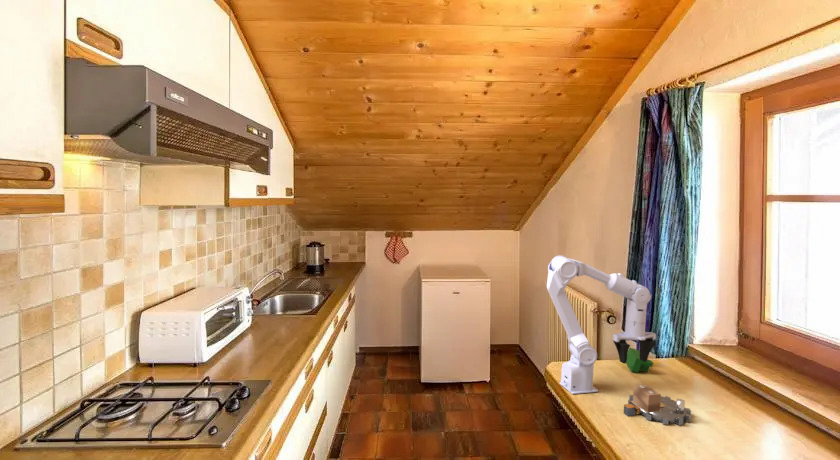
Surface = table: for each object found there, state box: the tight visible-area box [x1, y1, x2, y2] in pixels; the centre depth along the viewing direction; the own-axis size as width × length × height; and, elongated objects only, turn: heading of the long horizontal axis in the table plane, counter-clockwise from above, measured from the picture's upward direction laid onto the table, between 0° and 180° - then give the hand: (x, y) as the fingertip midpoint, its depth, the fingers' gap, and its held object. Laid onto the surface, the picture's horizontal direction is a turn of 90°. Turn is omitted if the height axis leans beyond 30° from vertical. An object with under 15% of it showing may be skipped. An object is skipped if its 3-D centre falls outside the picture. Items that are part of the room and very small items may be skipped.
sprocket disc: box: [627, 394, 692, 426], centre depth 125 cm, size 16×16×5 cm
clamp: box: [626, 347, 654, 374], centre depth 157 cm, size 12×6×9 cm
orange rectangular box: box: [623, 403, 636, 417], centre depth 123 cm, size 2×2×3 cm
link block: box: [632, 384, 662, 412], centre depth 124 cm, size 6×4×5 cm, turn 13°
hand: (632, 361), depth 139 cm, fingers open, 7 cm apart
